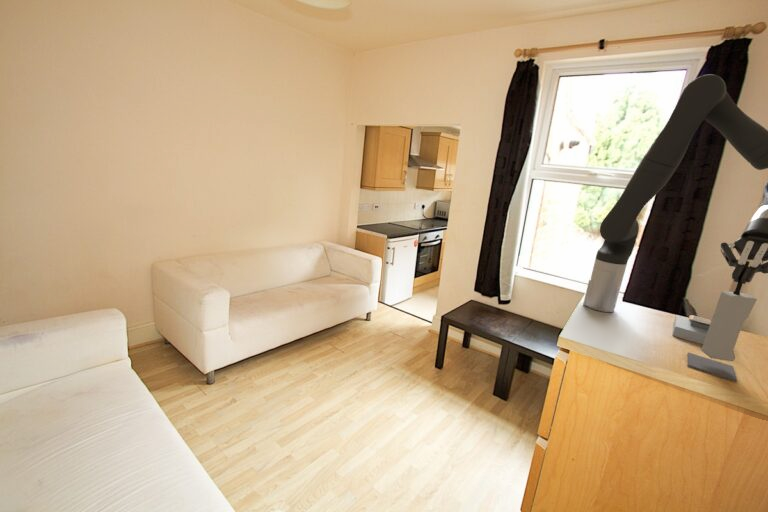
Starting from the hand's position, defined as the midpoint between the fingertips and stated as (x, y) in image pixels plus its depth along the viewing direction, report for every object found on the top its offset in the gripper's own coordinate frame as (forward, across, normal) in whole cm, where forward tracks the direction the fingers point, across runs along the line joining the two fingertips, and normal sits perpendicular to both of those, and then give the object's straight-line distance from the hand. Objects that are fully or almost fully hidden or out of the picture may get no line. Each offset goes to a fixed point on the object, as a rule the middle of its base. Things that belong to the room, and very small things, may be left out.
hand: (739, 280), depth 82 cm
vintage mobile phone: (+13, 0, +16) cm, 21 cm away
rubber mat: (+15, 0, +18) cm, 24 cm away
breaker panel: (+1, -8, +33) cm, 34 cm away
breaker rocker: (-3, -8, +30) cm, 31 cm away
